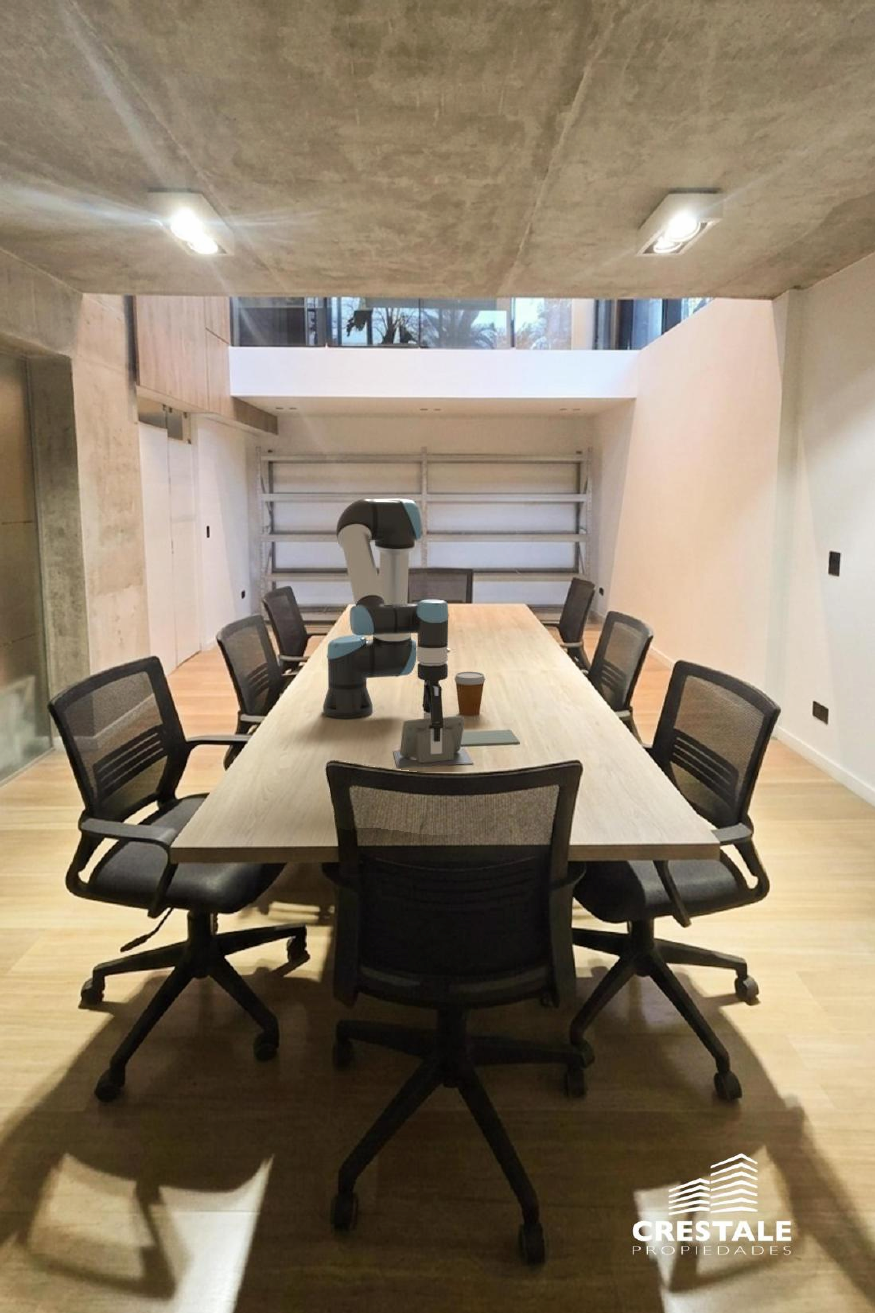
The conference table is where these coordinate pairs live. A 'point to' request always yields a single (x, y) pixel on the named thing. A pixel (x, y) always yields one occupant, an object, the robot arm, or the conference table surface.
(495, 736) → the side mat
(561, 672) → the conference table surface
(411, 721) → the digital clock
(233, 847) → the conference table surface
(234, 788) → the conference table surface
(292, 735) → the conference table surface
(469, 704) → the disposable coffee cup
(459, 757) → the gray plate
